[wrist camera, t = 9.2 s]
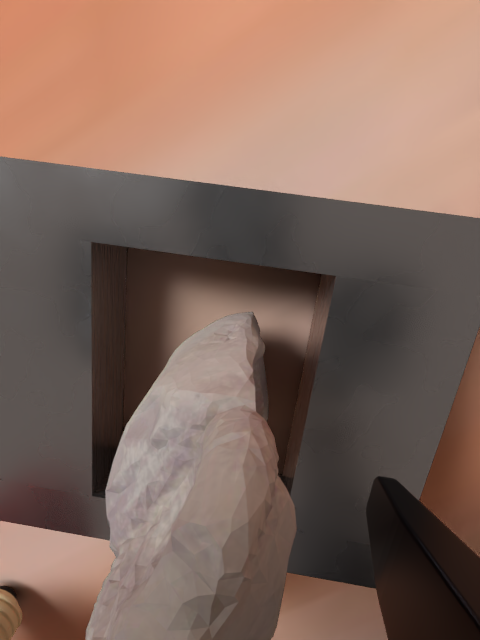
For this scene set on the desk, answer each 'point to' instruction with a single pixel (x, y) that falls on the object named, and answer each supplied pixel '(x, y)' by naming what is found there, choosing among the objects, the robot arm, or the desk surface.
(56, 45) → the desk surface
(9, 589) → the light bulb
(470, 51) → the desk surface
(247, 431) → the pale grey rock
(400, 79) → the desk surface
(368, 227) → the socket block
